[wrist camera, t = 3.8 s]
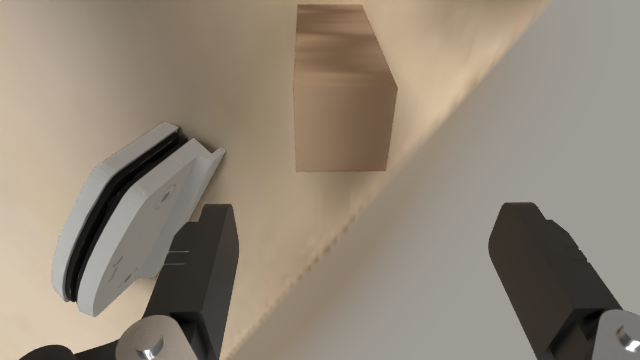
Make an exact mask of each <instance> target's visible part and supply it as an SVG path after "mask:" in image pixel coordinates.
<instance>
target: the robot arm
mask: <svg viewBox="0 0 640 360" xmlns="http://www.w3.org/2000/svg"><path fill="white" fill-rule="evenodd" d="M488 246H489V247H488V248H489V254H490V258H491V260H492V263H493V265H494V267H495V269H496V271H497V273H498V276H499V278H500V280H501V282H502V284H503V286H504V288H505V291H506V293H507V295H508V297H509V299H510V301H511V304H512V306H513V308H514V310H515V312H516V314H517V316H518V319H519V321H520V323H521V325H522V327H523V329H524V331H525V334H526V336H527V338H528V340H529V342H530V344H531V347H532V349H533V351H534V353H535V355H536V357H537V359H538V360H640V316H639V315H637V314H634V313H632V312H629V311H625V310H623V309H622V308H621V306H620V305H619V303H618V302H617V300H616V299H615V298H614V296H613V295H612V294H611V292H610V291H609V289H608V288H607V287H606V285H605V284H604V282H603V281H602V280H601V278H600V277H599V275H598V274H597V272H596V271H595V270H594V268H593V267H592V265H591V264H590V263H588V262H587V258H586V257H585V256H584V255H583V253H582V252H581V250H579V249H578V246H577V244H576V243H575V242H574V240H573V239H572V238H571V236H570V235H569V233H568V232H567V231H565V230H564V229H563V228H562V227H560V226H559V225H558V224H557V223H555V222H554V221H553V220H546V219H545V217H544V216H543V214H542V213H541V212H540V210H539V209H538V207H537V206H536V205H535V204H534V203H531V202H527V203H526V202H520V203H519V202H518V203H504V204H503V205H502V207H501V209H500V212H499V215H498V218H497V220H496V222H495V225H494V227H493V230H492V233H491V235H490V238H489V245H488ZM238 258H239V240H238V234H237V229H236V223H235V218H234V212H233V207H232V205H231V204H206V205H204V207H203V210H202V213H201V216H200V219H199V222H186V223H185V224H184V225H183V226H182V228H181V229H180V230H179V231H178V232H177V233H176V234H175V235H174V237H173V240H172V243H171V245H170V248H169V253H167V256H166V258H165V261H164V266H162V269H161V271H160V274H159V277H158V279H157V282H156V284H155V287H154V290H153V292H152V295H151V297H150V300H149V303H148V305H147V308H146V310H145V313H144V315H143V317H142V318H141V320H139V321H137V322H136V323H134V324H133V325H131V326H130V327H129V328H128V329H127V330H126V331H125V332H124V333H123V335H122V336H121V338H120V339H118V340H116V341H114V342H111V343H109V344H106V345H102V346H99V347H96V348H93V349H89V350H86V351H83V352H80V353H76V354H73V353H72V352H71V350H70V349H68V348H67V347H65V346H62V345H48V346H44V347H40V348H38V349H35V350H33V351H31V352H29V353H28V354H26V355H25V356H23V357H22V358H21V359H19V360H219V357H220V352H221V347H222V342H223V336H224V331H225V326H226V321H227V316H228V310H229V305H230V300H231V295H232V290H233V285H234V279H235V274H236V269H237V264H238Z"/></svg>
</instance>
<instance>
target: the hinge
mask: <svg viewBox="0 0 640 360" xmlns="http://www.w3.org/2000/svg"><path fill="white" fill-rule="evenodd" d="M178 128H179V127H177V126H175V125H173V124H171V123H168V122H162V123H160V124H159V125H157V126H156V127H154V128H153V129H151V130H150V131H148V132H147V133H145V134H144V135H142V136H141V137H139V138H138V139H136V140H135V141H133V142H132V143H130V144H129V145H127V146H125V147H124V148H122V149H121V150H119V151H118V152H116V153H115V154H113V155H112V156H110V157H109V158H107V159H106V160H104V161H103V162H101V163H100V164H99V165H98V166H97V167H96V168H95V169H94V170H93V171H92V173H91V174H90V176H89V178H88V179H87V181H86V183H85V185H84V186H83V188H82V190H81V192H80V194H79V195H78V197H77V199H76V201H75V203H74V205H73V207H72V209H71V211H70V214H69V216H68V218H67V220H66V222H65V225H64V227H63V229H62V232H61V234H60V237H59V240H58V243H57V246H56V249H55V253H54V257H53V262H52V270H51V279H52V284H53V288H54V289H55V291H56V292H57V293H58V294H59V296H60V297H61V298H62V299H63V300H64V301H65V302H69V301H72V302H75V301H76V302H77V305H78V308H79V311H80V312H83V313H85V314H88V315H90V316H93V317H96V316H97V315H99V314H100V313H101V312H102V311H103V310H104V309H105V308H106V307H107V306H108V305H109V304H110V303H112V302H113V301H114V300H115V299H116V298H117V297H118V296H119V295H120V294H121V293H122V292H123V291H124V290H125V289H126V288H127V287H128V286H130V285H131V284H132V283H133V282H134V281H135V280H136V279H138V278H153V277H155V276H156V274H157V273H158V272H159V271H160V270H161V269H162V266H164V261H165V258H166V256H167V253H169V248H170V245H171V243H172V240H173V237H174V235H175V234H176V233H177V232H178V231H179V230H180V229H181V228H182V226H183V225H184V224H185V223H186V222H188V221H189V219H190V217H191V215H192V213H193V212H194V210H195V208H196V206H197V204H198V202H199V200H200V198H201V197H202V195H203V193H204V191H205V189H206V187H207V185H208V183H209V182H210V180H211V178H212V176H213V174H214V172H215V170H216V168H217V167H218V165H219V163H220V161H221V159H222V157H223V155H224V153H225V152H226V151H225V150H224V149H223V148H221V147H220V148H219V149H217V150H216V151H215V152H214V153H212V154H211V153H210V152H209V151H208V150H207V149H206V148H204V147H203V146H202V145H201V144H200V143H199V142H198V141H197V140H196V139H195V138H194V137H193V138H192V139H191V140H190V141H188V140H187V139H186V138H185V139H184V140H183V141H181V142H180V143H179V144H177V145H176V143H177V141H178V139H179V136H180V134H178V133H177V130H178Z"/></svg>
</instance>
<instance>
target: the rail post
mask: <svg viewBox="0 0 640 360" xmlns="http://www.w3.org/2000/svg"><path fill="white" fill-rule="evenodd" d="M293 93H294V122H295V151H296V172H339V171H386V166H387V158H388V151H389V144H390V137H391V130H392V123H393V116H394V109H395V102H396V95H397V85H396V83H395V81H394V78H393V76H392V74H391V71H390V69H389V67H388V64H387V62H386V60H385V57H384V55H383V53H382V51H381V48H380V46H379V44H378V41H377V39H376V37H375V34H374V32H373V30H372V27H371V25H370V23H369V20H368V18H367V16H366V13H365V11H364V9H363V7H362V5H298V10H297V28H296V47H295V66H294V85H293Z"/></svg>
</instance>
